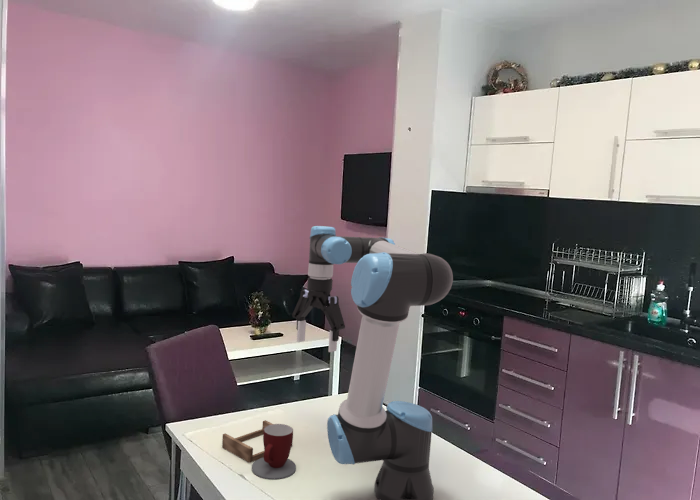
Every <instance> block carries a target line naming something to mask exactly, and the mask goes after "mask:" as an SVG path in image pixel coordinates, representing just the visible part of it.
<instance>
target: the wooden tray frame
mask: <svg viewBox="0 0 700 500" xmlns="http://www.w3.org/2000/svg"><path fill="white" fill-rule="evenodd" d="M272 424H273V423H272V422H270V421H268V420H263V421H262V428H261V429H257V430H256V431H255V430H254V431H253V432H252V431H251V432H249V433H246V434H244V435H240V436H238V437H233V436H231V435H229V434H227V433H223V434H222V439H221V440H222V441H221V448H222V449H224V450H226V451H227V452H229V453H231V454H233V455H235V456H236V457H238V458H240V459H241V460H243V461H245V462H247V463H249V464H252V463H254V462H255V461H256V460H258V459H260V458H263V457H264V450H263V451H260V452H257V453H254V448H253V447H251V446H250V445H248V444H247V443H244V442H246V441H249V440H251V439H254V438H258V437H260V436H263V432H264V428H265V427H266V426H268V425H272ZM292 443H293V441H292ZM292 447H293V444H292V445H291V448H292Z"/></svg>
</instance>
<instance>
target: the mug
mask: <svg viewBox="0 0 700 500" xmlns="http://www.w3.org/2000/svg"><path fill="white" fill-rule="evenodd" d="M293 440H294V428H293V427H292V426H291V425H287V424H284V423H272V425H268V426H266V427H265V428H264V432H263V435H262V441H263V442H262V443H263V451H264V461H265V462H267V463H268V464H269V465H270V466H271V467H273V468H281V467H283V466H284V464H285V463H286V461H287V459H289V457H290V453H291V448H292V447H291V445H292V446H293V442H292V441H293Z"/></svg>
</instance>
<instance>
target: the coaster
mask: <svg viewBox="0 0 700 500" xmlns="http://www.w3.org/2000/svg"><path fill="white" fill-rule="evenodd" d="M296 470H297V465H296V463H295V462H294V461H293V460H292V459H290V458H288V459H287V461H286V463H285V464H284V466H283V467H281V468H273V467H271V466H270V465H269V464H268V463H267V462H265V461H264V457H263V458H260V459H258V460H256V461H254V462H252V463H251V472H252V473H253V474H254V475H255V476H256V477H259V478H260V479H261V478H262V479H264V480H270V481H271V480H272V481H273V480H283V479H286V478H289V477H291V476H293V475H294V474H295V473H296Z"/></svg>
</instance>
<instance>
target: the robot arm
mask: <svg viewBox="0 0 700 500" xmlns="http://www.w3.org/2000/svg"><path fill="white" fill-rule="evenodd" d="M336 232H337V231H336V227H334V226H327V225H326V226H325V225H324V226H323V225H315V226H314V225H313V226H312V227H311V229H310V235H309V250H308V251H309V253H308V266H307V267H308V270H307V276H308V278H307V287H306V289H302V290H300V296H299V298H298V301H297V303H296V306H295V307H294V310H293V311H292V314H291V316H292V318H294V319H295V320H296V330H297V333H296V342H297V343H300V342H305V340H306V326H307V321H306V317H308V314H310V312H311V311H312V309H314V308H316V309H318V310H321V312H323V314H324V316H325V318H326V320H327V321H328V324H329V327H330V328H331V329H329V332H328V333H329V334H328V335H329V337H328V353H334V352H337V347H338V346H337V345H338V341H339V337H340V331H341V330H344V329H345V328H346V324H345V321H344V318H343V314H342V311H341V308H340V304H339V303H340V302H339V296H337V295H336V296H332V295H331V291H332V290H333V279H332V278H333V276H334V265H343V264H356V265H355V266H354V268H353V269H354V270H353V273H352V274H351V275H352V276H351V280H350V281H351V282H350V286H351V289H350V292H351V293H350V294H351V299H352V300H353V302H354V304H355V305H356V308H357V311H358V312H359V314H360V315H361V321H360V327H359V331H358V336H357V344H356V347H355V352H354V353H355V355H354V360H353V364H352V369H351V370H352V371H351V374H350V375H351V376H350V381H349V386H348V387H349V388H348V392H347V399H345V400H343V401H342V402H341V403H340V405H339V406H338V407H339V408H338V411H337V412H338V413H337V414H332V415H329V417H328V418H327V424H326V429H327V439H328V443H329V444H328V445H329V448H330V451H331V454H332V456H333V458H334V460H335V462H337V463H338V464H340V465H355V464H361V463H362V464H363V463H370V462H378V461H379V462H380V461H382V464H381V467H380V469H379V471H378V473H377V476H376V478H375V481H374V486H373V487H374V489H373V492H374V496H375V497H376V498H377V500H434V494H435V493H434V492H435V490H434V485H433V480H432V477H431V471H430V457H431V456H430V455H431V444H432V435H433V434H432V433H433V416H432V414H431V412H430V411H429V410H428V409H427V408H426V407H423V406H421V405H418V404H416V403H412V402H409V401H403V400H394V401H390V402H388V403H387V406H386V407H385V408H384V407H383V405H384V399H385V397H386V396H385V394H386V389H387V385H388V380H389V375H390V370H391V365H392V361H393V355H394V352H395V351H394V350H395V346H396V341H397V336H398V331H399V327H400V324H401V323H403V321H406V320H407V319H408V317H409V311H410V308H411V307H414V306H415V307H416V306H417V307H421V306H431V305H433V304H436V303H438V302H440V301H441V300H443V299H444V298H445V297H446V296H447V295H448V294H449V292H450V290H452V285H453V282H454V275H453V270H452V268H451V266H450V264H449V262H447V260H445V259H444V258H443V257H440V256H439V255H435V254H433V253H429V252H428V253H427V252H424V253H418V252H414V251H412V250H409V249H407V248H404V247H401V246H399V245H397V244H396V243H395V242H394V240H393V239H392V238H390V237H387V238H386V237H380V236H379V237H361V236H341V235H340V236H337V235H336V234H337V233H336ZM385 409H386V410H385Z"/></svg>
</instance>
